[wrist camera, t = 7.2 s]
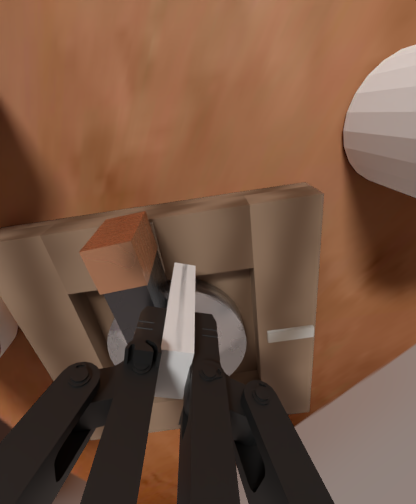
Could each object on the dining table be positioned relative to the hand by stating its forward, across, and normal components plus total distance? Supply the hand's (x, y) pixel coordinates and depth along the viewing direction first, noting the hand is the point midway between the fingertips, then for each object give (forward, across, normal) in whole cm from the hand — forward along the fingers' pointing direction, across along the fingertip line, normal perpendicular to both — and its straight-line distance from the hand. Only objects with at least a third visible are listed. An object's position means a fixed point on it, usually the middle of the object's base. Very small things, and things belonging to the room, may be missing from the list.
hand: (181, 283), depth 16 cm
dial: (+4, 0, -5) cm, 6 cm away
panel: (+5, +1, -8) cm, 9 cm away
